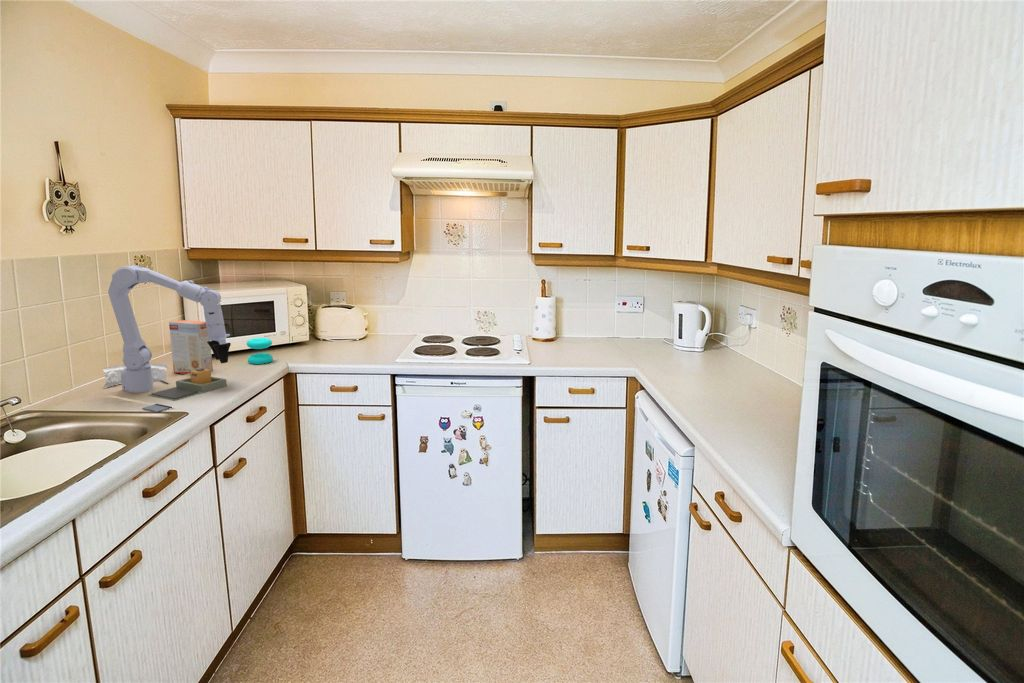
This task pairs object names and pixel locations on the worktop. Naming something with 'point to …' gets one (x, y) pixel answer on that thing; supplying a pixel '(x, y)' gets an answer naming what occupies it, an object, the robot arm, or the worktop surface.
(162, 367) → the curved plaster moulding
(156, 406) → the mat
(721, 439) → the worktop surface
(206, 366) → the cracker box
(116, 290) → the robot arm
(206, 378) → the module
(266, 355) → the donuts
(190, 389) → the grey-green tray
